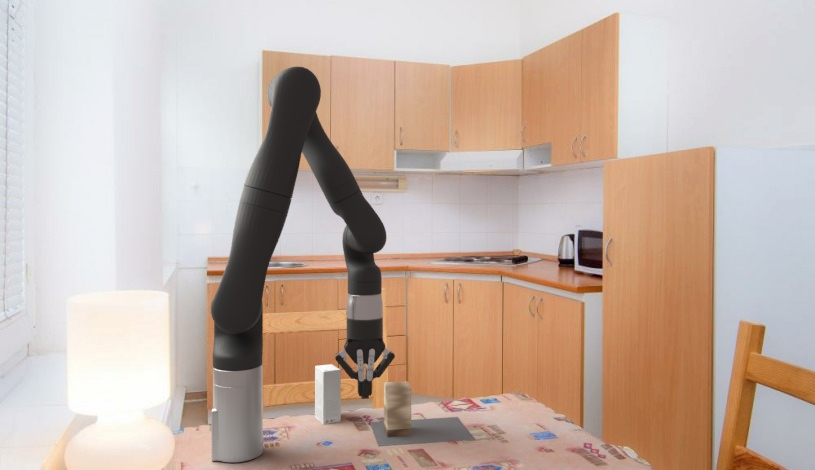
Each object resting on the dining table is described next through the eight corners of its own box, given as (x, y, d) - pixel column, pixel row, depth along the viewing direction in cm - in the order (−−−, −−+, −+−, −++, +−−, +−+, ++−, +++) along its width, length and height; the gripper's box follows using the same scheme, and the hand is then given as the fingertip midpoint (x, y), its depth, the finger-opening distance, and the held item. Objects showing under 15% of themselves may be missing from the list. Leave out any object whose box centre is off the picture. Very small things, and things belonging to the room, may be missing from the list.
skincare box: (341, 423, 135) (341, 369, 135) (323, 426, 133) (323, 371, 133) (332, 415, 140) (332, 363, 140) (314, 417, 139) (314, 365, 138)
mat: (378, 448, 121) (378, 446, 121) (369, 423, 135) (369, 422, 135) (475, 441, 124) (475, 439, 124) (457, 418, 138) (457, 416, 138)
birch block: (387, 437, 126) (387, 389, 125) (383, 428, 131) (384, 382, 130) (411, 435, 127) (411, 387, 126) (406, 427, 131) (407, 381, 131)
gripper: (333, 319, 121) (334, 405, 122) (399, 317, 124) (399, 401, 125) (331, 313, 129) (331, 394, 130) (393, 311, 131) (393, 390, 132)
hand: (364, 397), depth 127 cm, fingers closed
